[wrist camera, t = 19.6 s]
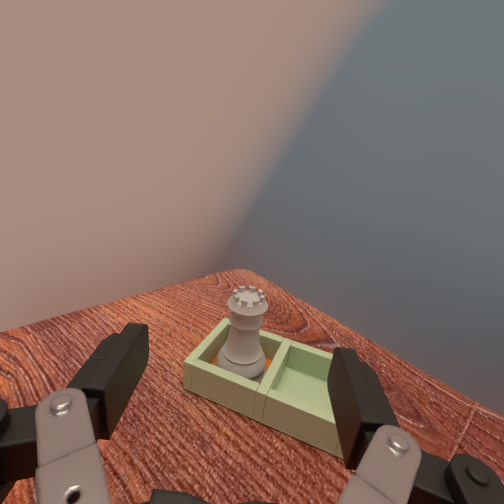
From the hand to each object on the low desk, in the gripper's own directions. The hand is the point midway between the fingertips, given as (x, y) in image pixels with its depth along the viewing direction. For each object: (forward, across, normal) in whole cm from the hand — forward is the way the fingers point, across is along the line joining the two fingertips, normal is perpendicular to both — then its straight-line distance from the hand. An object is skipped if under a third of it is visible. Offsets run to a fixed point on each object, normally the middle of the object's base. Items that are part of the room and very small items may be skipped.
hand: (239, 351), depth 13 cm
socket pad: (+10, -3, +12) cm, 16 cm away
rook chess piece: (+11, 0, +11) cm, 16 cm away
